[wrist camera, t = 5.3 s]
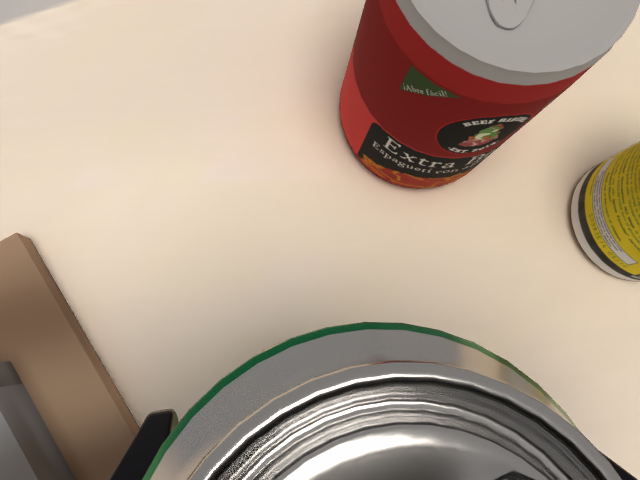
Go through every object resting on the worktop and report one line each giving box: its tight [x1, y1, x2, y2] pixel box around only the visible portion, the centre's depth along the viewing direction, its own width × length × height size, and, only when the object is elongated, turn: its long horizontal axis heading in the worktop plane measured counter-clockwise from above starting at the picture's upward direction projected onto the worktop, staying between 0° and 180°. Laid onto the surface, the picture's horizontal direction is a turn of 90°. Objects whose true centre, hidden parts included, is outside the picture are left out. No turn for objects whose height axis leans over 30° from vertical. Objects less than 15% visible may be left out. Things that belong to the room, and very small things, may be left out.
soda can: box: [142, 322, 622, 480], centre depth 10 cm, size 5×5×12 cm
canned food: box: [340, 0, 640, 188], centre depth 20 cm, size 8×8×11 cm
